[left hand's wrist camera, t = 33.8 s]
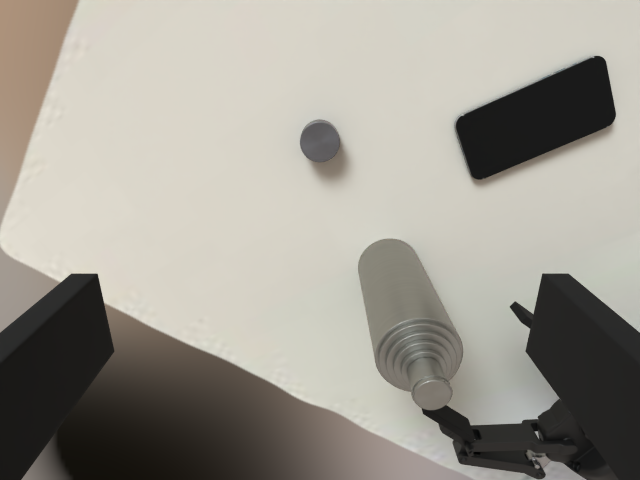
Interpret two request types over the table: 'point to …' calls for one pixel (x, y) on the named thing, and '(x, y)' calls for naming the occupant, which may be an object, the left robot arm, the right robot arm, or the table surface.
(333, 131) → the cap
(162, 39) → the table surface
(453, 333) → the bottle
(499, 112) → the smartphone
